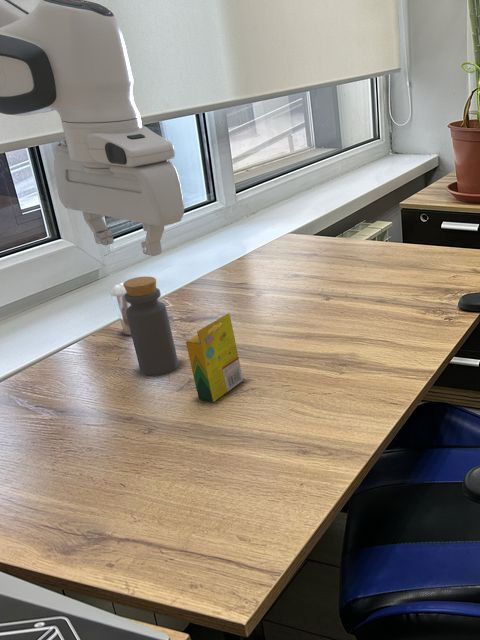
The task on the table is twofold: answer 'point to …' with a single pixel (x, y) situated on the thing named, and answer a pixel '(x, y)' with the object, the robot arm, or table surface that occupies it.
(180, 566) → the table surface
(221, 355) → the crayon box
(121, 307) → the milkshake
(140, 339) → the bottle
